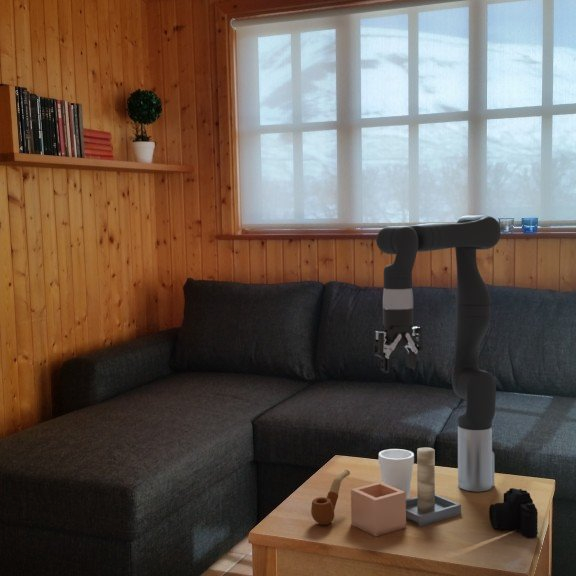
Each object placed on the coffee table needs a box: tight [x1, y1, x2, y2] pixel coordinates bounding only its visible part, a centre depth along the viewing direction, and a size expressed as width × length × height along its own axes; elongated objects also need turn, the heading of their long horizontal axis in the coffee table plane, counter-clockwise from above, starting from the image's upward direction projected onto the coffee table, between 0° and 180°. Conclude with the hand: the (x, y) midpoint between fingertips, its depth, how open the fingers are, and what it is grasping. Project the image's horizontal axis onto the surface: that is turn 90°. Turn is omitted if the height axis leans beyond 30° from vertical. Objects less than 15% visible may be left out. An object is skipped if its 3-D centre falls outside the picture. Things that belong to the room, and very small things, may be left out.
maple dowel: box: [416, 447, 436, 514], centre depth 204 cm, size 4×4×16 cm
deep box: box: [350, 481, 407, 537], centre depth 197 cm, size 10×10×9 cm
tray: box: [406, 493, 462, 527], centre depth 205 cm, size 14×11×2 cm
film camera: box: [488, 487, 539, 538], centre depth 195 cm, size 15×10×9 cm, turn 5°
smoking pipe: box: [310, 469, 351, 526], centre depth 204 cm, size 7×18×6 cm
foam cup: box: [378, 448, 415, 500], centre depth 213 cm, size 10×9×13 cm
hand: (398, 370), depth 199 cm, fingers open, 8 cm apart
